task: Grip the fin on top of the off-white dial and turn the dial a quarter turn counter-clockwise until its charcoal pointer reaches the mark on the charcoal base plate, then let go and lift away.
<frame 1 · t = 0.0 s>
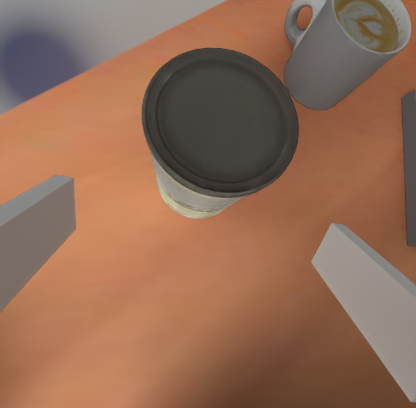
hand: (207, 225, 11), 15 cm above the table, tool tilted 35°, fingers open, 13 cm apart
coffee mug: (306, 72, 34), on the table
coffee can: (197, 179, 28), on the table
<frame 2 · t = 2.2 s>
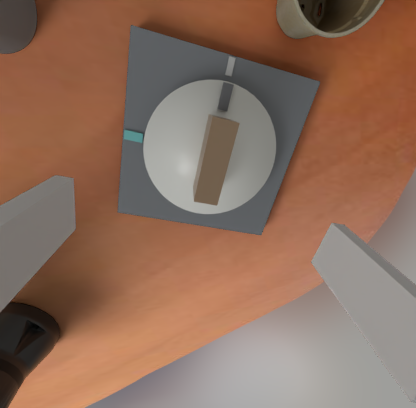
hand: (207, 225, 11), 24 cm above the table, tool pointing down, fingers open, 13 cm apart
base plate: (208, 150, 33), on the table
flower pot: (298, 9, 27), on the table
dial: (212, 158, 28), point 5 cm above the table, hinge at 0.0°
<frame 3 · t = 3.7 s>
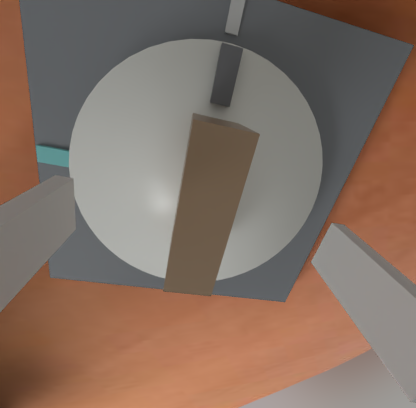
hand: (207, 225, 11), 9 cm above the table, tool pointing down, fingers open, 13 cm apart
base plate: (199, 174, 19), on the table
dial: (201, 199, 14), point 5 cm above the table, hinge at 0.0°
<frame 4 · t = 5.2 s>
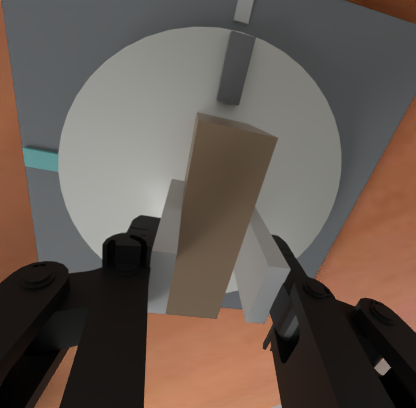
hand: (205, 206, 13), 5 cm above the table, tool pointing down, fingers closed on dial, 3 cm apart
base plate: (202, 178, 18), on the table
dial: (206, 209, 13), point 5 cm above the table, hinge at 0.0°, touching gripper
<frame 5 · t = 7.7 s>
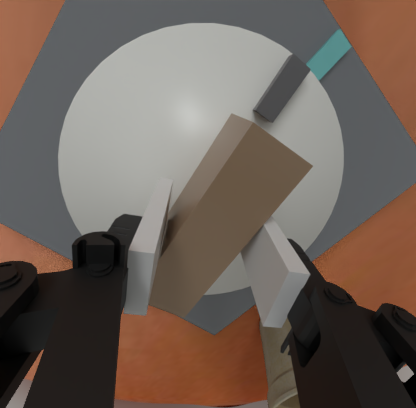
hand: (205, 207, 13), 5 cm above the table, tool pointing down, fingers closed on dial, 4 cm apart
base plate: (203, 177, 18), on the table
flower pot: (284, 318, 26), on the table
dial: (207, 208, 13), point 5 cm above the table, hinge at 99.1°, touching gripper
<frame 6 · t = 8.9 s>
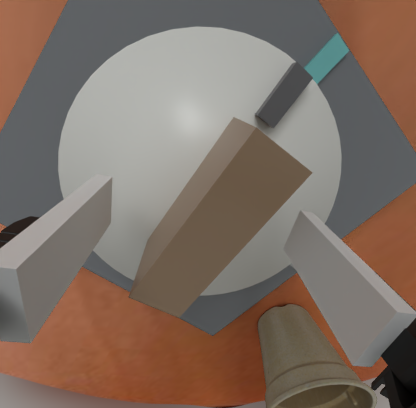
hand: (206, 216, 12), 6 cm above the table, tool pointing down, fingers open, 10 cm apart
base plate: (202, 178, 18), on the table
flower pot: (282, 318, 26), on the table
dial: (206, 209, 13), point 5 cm above the table, hinge at 96.9°
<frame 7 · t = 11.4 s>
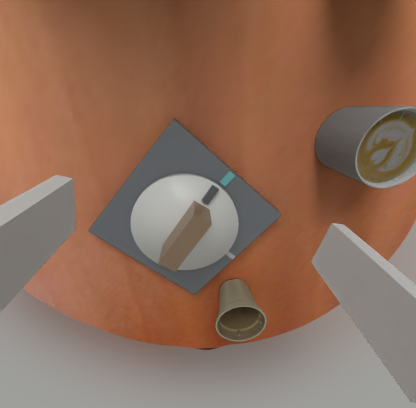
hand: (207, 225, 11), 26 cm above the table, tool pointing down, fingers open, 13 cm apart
coffee mug: (354, 138, 36), on the table
base plate: (186, 217, 40), on the table
flower pot: (233, 288, 48), on the table
dial: (184, 233, 35), point 5 cm above the table, hinge at 96.9°
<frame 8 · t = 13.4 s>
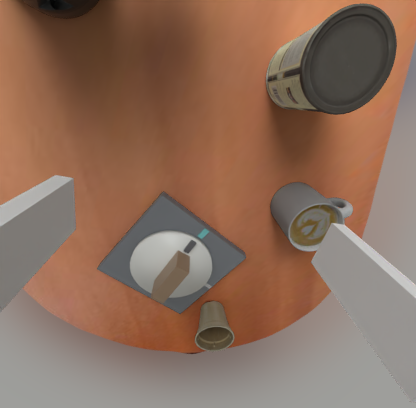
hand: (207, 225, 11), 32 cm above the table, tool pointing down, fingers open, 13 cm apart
coffee mug: (300, 202, 47), on the table
coffee can: (295, 76, 37), on the table
base plate: (173, 257, 52), on the table
flower pot: (212, 307, 60), on the table
dial: (170, 274, 47), point 5 cm above the table, hinge at 96.9°
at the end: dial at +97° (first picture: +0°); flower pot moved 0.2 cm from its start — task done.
